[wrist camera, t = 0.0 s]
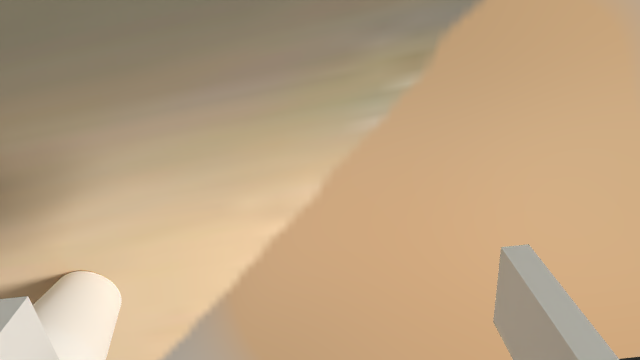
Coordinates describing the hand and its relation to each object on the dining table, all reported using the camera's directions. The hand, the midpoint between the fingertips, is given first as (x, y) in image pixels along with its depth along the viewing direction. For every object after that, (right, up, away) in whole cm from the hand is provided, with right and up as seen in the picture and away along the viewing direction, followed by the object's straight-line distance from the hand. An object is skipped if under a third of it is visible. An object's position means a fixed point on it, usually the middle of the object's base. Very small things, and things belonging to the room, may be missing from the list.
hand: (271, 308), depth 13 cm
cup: (-23, -8, +35) cm, 42 cm away
